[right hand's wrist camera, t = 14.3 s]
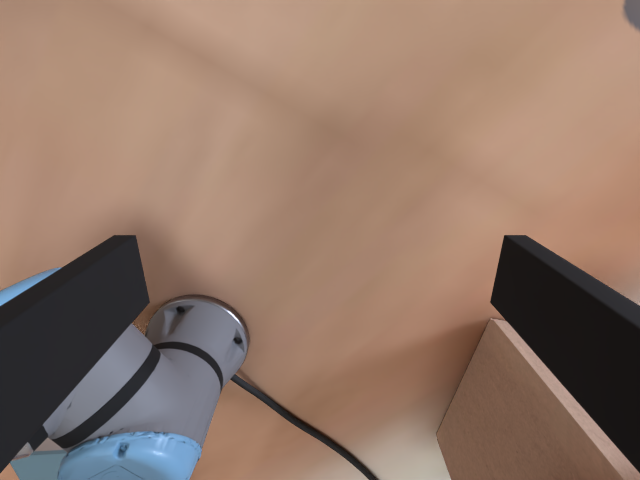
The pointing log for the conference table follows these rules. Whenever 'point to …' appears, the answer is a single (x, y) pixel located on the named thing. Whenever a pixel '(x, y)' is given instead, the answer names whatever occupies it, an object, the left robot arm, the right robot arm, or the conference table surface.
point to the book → (40, 462)
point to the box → (522, 421)
